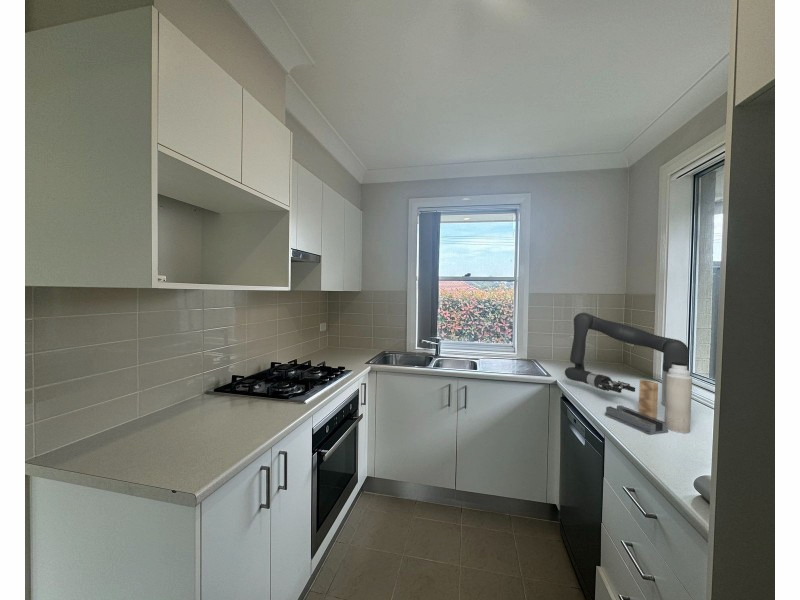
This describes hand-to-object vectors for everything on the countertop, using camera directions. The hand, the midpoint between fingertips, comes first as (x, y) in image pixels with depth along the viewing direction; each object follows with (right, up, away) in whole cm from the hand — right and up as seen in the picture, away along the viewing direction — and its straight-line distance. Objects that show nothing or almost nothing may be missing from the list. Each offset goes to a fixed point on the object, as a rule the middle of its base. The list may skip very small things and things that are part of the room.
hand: (627, 390), depth 152 cm
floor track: (-10, -9, -17) cm, 22 cm away
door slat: (+2, -9, -9) cm, 13 cm away
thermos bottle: (+4, -10, -22) cm, 25 cm away
